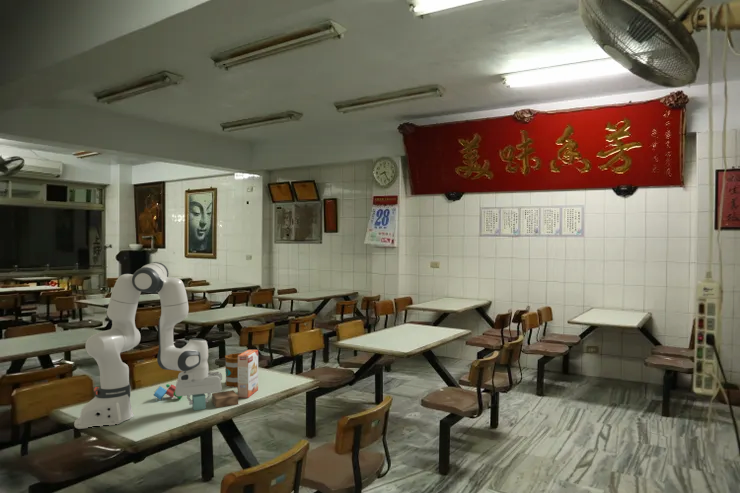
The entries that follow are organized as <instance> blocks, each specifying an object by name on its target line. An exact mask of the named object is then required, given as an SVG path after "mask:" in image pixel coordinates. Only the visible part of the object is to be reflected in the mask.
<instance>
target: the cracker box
mask: <svg viewBox="0 0 740 493" xmlns="http://www.w3.org/2000/svg"><path fill="white" fill-rule="evenodd" d="M240 353H241V354H240V355H238V387H237V395H238V398H239V399H241V398H242V399H243V398H245V399H248V398H249V397H251V396H252V395H253V394H255V393H256V392H257V391H259V349H247V350H245V351H243V352H240Z"/></svg>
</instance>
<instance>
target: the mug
mask: <svg viewBox="0 0 740 493" xmlns="http://www.w3.org/2000/svg"><path fill="white" fill-rule="evenodd" d="M241 353H242V352H239V353H230V354H226V355H224V357H225V367H224V369H225V386H226V387H231V388H238V355H240V354H241Z"/></svg>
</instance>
